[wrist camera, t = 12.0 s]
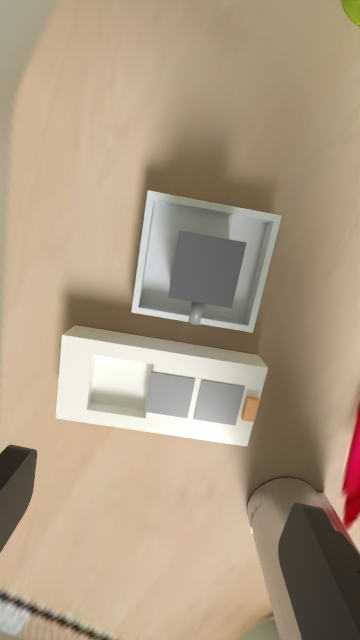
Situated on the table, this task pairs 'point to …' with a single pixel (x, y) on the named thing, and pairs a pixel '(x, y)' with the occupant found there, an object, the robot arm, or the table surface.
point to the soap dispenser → (352, 10)
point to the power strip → (158, 385)
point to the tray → (206, 219)
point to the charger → (205, 271)
